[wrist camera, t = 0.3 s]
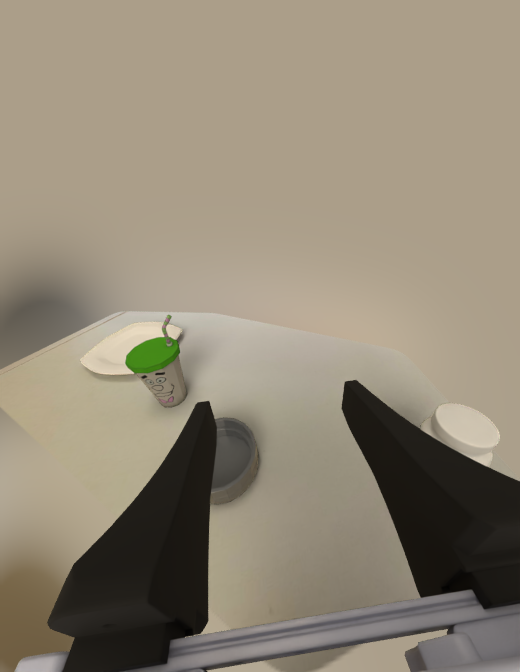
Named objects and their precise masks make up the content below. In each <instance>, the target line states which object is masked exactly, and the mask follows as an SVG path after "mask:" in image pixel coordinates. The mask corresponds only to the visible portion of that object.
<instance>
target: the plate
mask: <svg viewBox="0 0 520 672" xmlns="http://www.w3.org/2000/svg"><path fill="white" fill-rule="evenodd" d="M163 324H164V323H163V322H141V323H133V324H131V325H129V326H127V327H125V328H123V329H121V330H119V331H117V332H116V333H114V334H112V335H110V336H109V337H107V338H105V339H104V340H102V341H101V342H100V343H98V344H97V345H96V346H95V347H94V348H92V349H91V350H90V351H89V352H88V353H87V354H86V355H85V356H84V357H83V358H82V359H81V360H80V362H81V363H82V364H83V365H84V366H85V367H86V368H88V369H89V370H91V371H93V372H96V373H99V374H105V375H126V374H135V373H134V372H132V371H131V370H130V369H128V368H127V366H126V364H125V361H126V355H127V354H128V353H129V352H130V351H131V350H132V349H133V348H134V347H136V346H137V345H139V344H141V343H143V342H144V341H147V340H150V339H154V338H157V337H164V334H163V332H162V326H163ZM166 331H167V334H168V336H169V337H171V338H173V339H175V340H177V338H178V337H179V335H180V334H181V332H182V329H180V328H178V327H176V326H173V325H171V324H167V326H166Z"/></svg>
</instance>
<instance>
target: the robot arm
mask: <svg viewBox="0 0 520 672" xmlns="http://www.w3.org/2000/svg"><path fill="white" fill-rule="evenodd" d="M342 411H343V413H344V416H345V419H346V421H347V424H348V426H349V428H350V430H351V432H352V434H353V436H354V438H355V440H356V442H357V444H358V446H359V447H360V449H361V451H362V453H363V455H364V457H365V459H366V461H367V462H368V464H369V466H370V468H371V470H372V472H373V474H374V476H375V479H376V481H377V483H378V486H379V488H380V490H381V493H382V495H383V498H384V500H385V503H386V505H387V508H388V510H389V513H390V515H391V518H392V520H393V523H394V525H395V528H396V531H397V533H398V536H399V539H400V541H401V544H402V547H403V549H404V552H405V555H406V558H407V561H408V564H409V566H410V569H411V572H412V575H413V578H414V581H415V584H416V587H417V590H418V592H419V594H420V597H421V598H417V599H412V600H406V601H400V602H394V603H388V604H382V605H376V606H370V607H364V608H358V609H352V610H346V611H340V612H334V613H328V614H322V615H316V616H310V617H304V618H299V619H293V620H287V621H281V622H275V623H269V624H263V625H257V626H251V627H245V628H239V629H233V630H227V631H221V632H215V633H210V634H203V635H198V636H193V635H196V634H200V633H201V632H202V631H203V629H204V628H205V626H206V624H207V622H208V550H209V516H210V497H211V488H212V480H213V472H214V464H215V456H216V447H217V425H216V422H215V419H214V415H213V412H212V409H211V406H210V402H209V401H205V402H198V403H197V404H196V405H195V407H194V409H193V411H192V413H191V415H190V417H189V419H188V421H187V423H186V425H185V427H184V428H183V430H182V432H181V434H180V435H179V437H178V439H177V441H176V442H175V444H174V446H173V447H172V449H171V450H170V452H169V453H168V455H167V457H166V458H165V460H164V461H163V463H162V464H161V466H160V467H159V468H158V470H157V471H156V473H155V474H154V475H153V477H152V478H151V479H150V481H149V482H148V483H147V485H146V486H145V487H144V488H143V490H142V491H141V492H140V493H139V495H138V496H137V497H136V498H135V500H134V501H133V502H132V503H131V504H130V506H129V507H128V508H127V509H126V510H125V511H124V512H123V513H122V515H121V516H120V517H119V518H118V519H117V520H116V521H115V523H113V525H112V526H111V527H110V528H109V529H108V530H107V531H106V532H105V533H104V534H103V535H102V536H101V537H100V538H99V539H98V540H97V541H96V542H95V543H94V544H93V545H92V546H91V548H89V549H88V551H87V552H86V553H85V554H84V555H83V556H82V557H81V558H80V559H79V560H77V561H76V563H74V565H73V567H72V569H71V571H70V573H69V575H68V577H67V578H66V581H65V583H64V585H63V587H62V590H61V592H60V594H59V597H58V599H57V601H56V603H55V606H54V608H53V610H52V613H51V615H50V617H49V619H48V622H47V623H48V626H49V627H50V629H52V630H54V631H57V632H60V633H63V634H66V635H69V636H72V637H75V639H74V641H73V644H72V647H71V650H70V652H54V653H48V654H42V655H36V656H31V657H24V658H23V659H22V660H21V661H20V662H19V663H18V666H17V668H16V670H15V672H207V671H206V670H212V669H217V668H223V667H229V666H235V665H241V664H246V663H252V662H258V661H264V660H270V659H276V658H282V657H287V656H293V655H299V654H305V653H311V652H316V651H322V650H328V649H334V648H340V647H345V646H351V645H357V644H363V643H369V642H374V641H380V640H386V639H392V638H398V637H403V636H409V635H415V634H421V633H426V632H433V631H438V630H444V629H448V631H447V635H445V636H442V637H438V638H434V639H430V640H426V641H422V642H418V646H416V647H415V648H413V649H410V650H408V651H406V652H405V657H406V660H407V662H408V665H409V668H410V671H411V672H520V481H517V480H515V479H513V478H510V477H508V476H506V475H504V474H501V473H499V472H497V471H495V470H493V469H491V468H489V467H487V466H485V465H483V464H481V463H479V462H477V461H475V460H473V459H471V458H469V457H467V456H465V455H463V454H461V453H460V452H458V451H456V450H454V449H452V448H451V447H449V446H447V445H445V444H443V443H442V442H440V441H438V440H437V439H435V438H433V437H432V436H430V435H429V434H427V433H425V432H424V431H422V430H421V429H419V428H418V427H416V426H415V425H413V424H412V423H410V422H409V421H407V420H406V419H405V418H403V417H402V416H400V415H399V414H398V413H396V412H395V411H394V410H392V409H391V408H390V407H389V406H387V405H386V404H385V403H383V402H382V401H381V400H380V399H378V398H377V397H376V396H375V395H374V394H372V393H371V392H370V391H369V390H368V389H366V388H365V387H364V386H363V385H362V384H360V383H359V382H358V381H357V380H353V381H346V382H345V384H344V393H343V401H342ZM187 636H192V637H187ZM185 637H186V638H185Z"/></svg>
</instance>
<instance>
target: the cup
mask: <svg viewBox="0 0 520 672" xmlns="http://www.w3.org/2000/svg"><path fill="white" fill-rule="evenodd" d="M171 317H172V316H170V315H168V316H167V318H166V320H165V322H164V324H163V326H162V332H163V334H164V337H157V338H154V339H150V340H147V341H144V342H143V343H141V344H139V345H137V346H136V347H134V348H133V349H132V350H131V351H130V352H129V353H128V354H127V355H126V361H125V364H126V366H127V368H128V369H130V370H131V371H132V372H134V373H136V374H137V375H138V376H139V378H140V379H141V380H142V381H143V383H144V384H145V385H146V386H147V387H148V389H149V390H150V391H151V392H152V394H153V395H154V396H155V397H156V399H157V400H158V401H159V402H160V403H161V404H162V405H163V406H164V407H174V406H176V405H179V404H180V403H181V402H182V401H184V399H185V397H186V395H187V393H186V388H185V383H184V379H183V374H182V369H181V365H180V360H179V355H178V354H179V353H180V349H179V344H178V342H177V340H175V339H173V338H171V337H169V336H168V334H167V331H166V326H167V324H168V322H169V321H170V319H171Z"/></svg>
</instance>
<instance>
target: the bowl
mask: <svg viewBox="0 0 520 672" xmlns="http://www.w3.org/2000/svg"><path fill="white" fill-rule="evenodd" d="M215 422H216V425H217V447H216V456H215V464H214V472H213V480H212V488H211V497H210V503H211V504H222V503H226V502H230V501H232V500H234V499H235V498H237V497H238V496H240V495H241V494H243V493H244V492H245V491H246V489H247V488H248V487H249V486H250V484H251V483H252V482H253V480H254V477H255V474H256V472H257V469H258V451H257V446H256V442H255V439H254V436H253V433H252V431H251V430H250V429H249V428H248V427H247V426H246V424H245V423H243V422H241V421H239V420H237V419H234V418H218V419H215Z"/></svg>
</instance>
